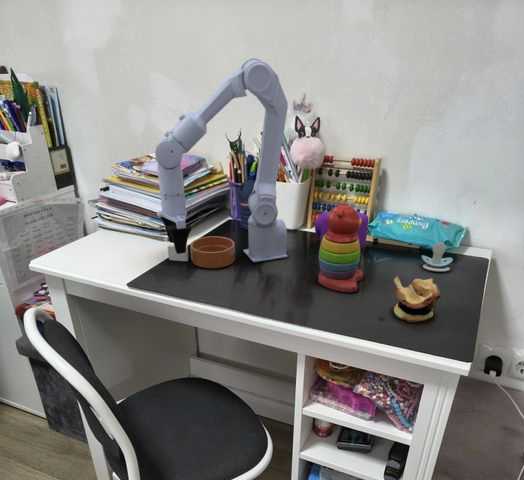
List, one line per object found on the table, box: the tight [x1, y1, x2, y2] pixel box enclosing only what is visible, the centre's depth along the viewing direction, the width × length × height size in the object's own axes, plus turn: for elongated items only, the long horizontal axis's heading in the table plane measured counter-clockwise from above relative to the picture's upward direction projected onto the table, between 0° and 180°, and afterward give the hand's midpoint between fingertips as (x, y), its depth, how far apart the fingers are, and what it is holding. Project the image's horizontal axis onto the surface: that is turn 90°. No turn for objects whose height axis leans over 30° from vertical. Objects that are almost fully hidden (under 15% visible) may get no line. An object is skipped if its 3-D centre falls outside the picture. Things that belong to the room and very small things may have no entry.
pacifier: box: [421, 241, 454, 273], centre depth 121 cm, size 7×6×6 cm
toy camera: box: [314, 211, 369, 250], centre depth 131 cm, size 11×14×10 cm
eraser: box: [167, 244, 190, 262], centre depth 126 cm, size 1×5×4 cm, turn 79°
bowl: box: [189, 235, 236, 269], centre depth 125 cm, size 11×11×4 cm
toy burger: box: [393, 275, 442, 323], centre depth 101 cm, size 12×10×8 cm
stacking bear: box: [317, 202, 364, 294], centre depth 112 cm, size 11×10×18 cm
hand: (177, 247), depth 125 cm, fingers open, 7 cm apart
